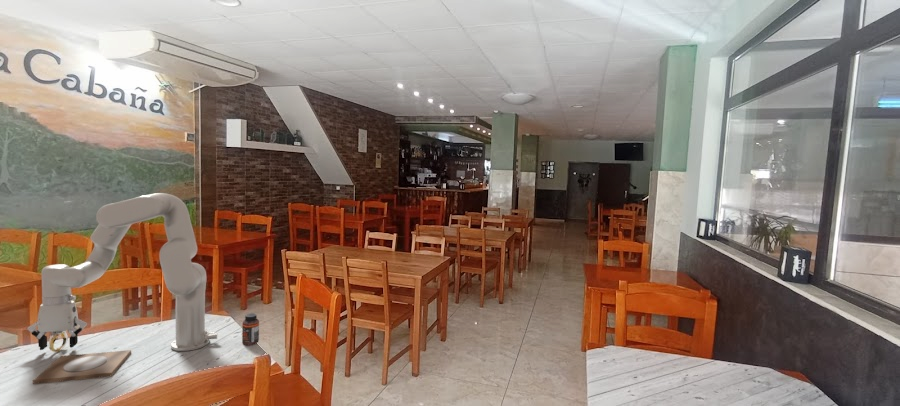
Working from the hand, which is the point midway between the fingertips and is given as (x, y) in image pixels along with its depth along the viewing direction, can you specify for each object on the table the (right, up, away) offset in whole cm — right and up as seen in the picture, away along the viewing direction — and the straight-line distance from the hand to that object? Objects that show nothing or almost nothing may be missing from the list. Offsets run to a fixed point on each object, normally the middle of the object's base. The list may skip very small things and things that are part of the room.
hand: (58, 346), depth 151 cm
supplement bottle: (+62, -4, +15) cm, 64 cm away
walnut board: (+19, -3, -10) cm, 21 cm away
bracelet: (0, -2, 0) cm, 2 cm away
